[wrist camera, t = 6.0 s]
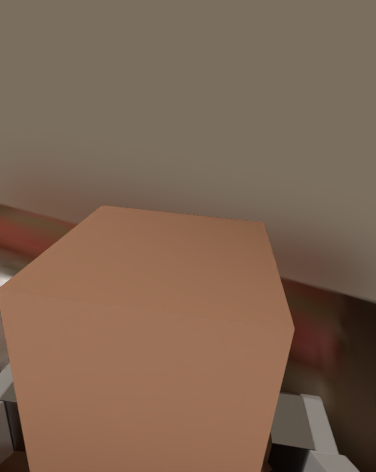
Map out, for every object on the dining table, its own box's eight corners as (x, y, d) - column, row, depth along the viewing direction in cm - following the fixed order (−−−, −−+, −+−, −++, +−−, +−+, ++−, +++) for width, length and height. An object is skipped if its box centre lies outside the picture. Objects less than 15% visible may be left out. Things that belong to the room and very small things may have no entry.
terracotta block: (58, 627, 9) (-4, 290, 5) (111, 466, 13) (101, 205, 9) (215, 661, 9) (295, 328, 5) (220, 485, 13) (264, 221, 9)
